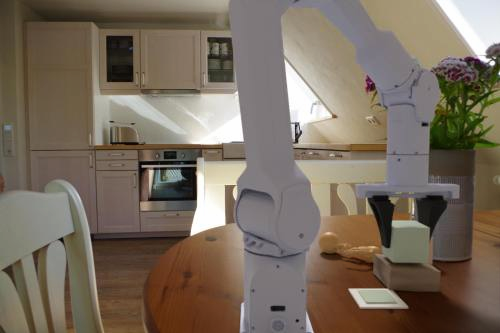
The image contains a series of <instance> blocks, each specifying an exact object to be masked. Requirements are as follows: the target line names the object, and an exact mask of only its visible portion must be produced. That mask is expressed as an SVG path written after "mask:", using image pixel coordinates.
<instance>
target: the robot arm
mask: <svg viewBox="0 0 500 333" xmlns="http://www.w3.org/2000/svg"><path fill="white" fill-rule="evenodd" d="M227 8H228V18H229V26H230V35H231V36H230V37H231V43H232V44H231V45H232V52H233V53H232V54H233V61H234V62H233V63H234V69H235V76H236V77H235V78H236V79H235V80H236V86H237V87H236V89H237V96H238V104H239V113H240V120H241V130H242V139H243V146H244V155H245V163H246V166H245V169H243V171H242V173H241V174H240V175H239V177H238V178H237V180H236V189H237V190H236V193H237V194H236V199H235V202H234V205H233V213H232V214H233V221H234V223H235V226H236V227H237V228H238V231H240V232H241V233H242V242H243V302H242V303H240V323H239V333H315V332H314V330H313V327H312V323H311V321H310V317H309V313H308V312H307V296H308V295H307V292H308V290H307V282H306V280H307V278H306V277H307V275H306V274H307V252H309V251H310V246H312V244H313V243H314V242H315V240H316V239H317V237H318V235H319V232H320V228H321V222H322V221H321V220H322V216H321V211H320V209H319V205H318V204H317V203H316V200H315V198H314V196H313V192H312V185H311V184H312V183H311V181H310V179H309V178H308V176H307V175H306V174H305V173H304V172H303V170H302V169H301V168H300V166H298V165H297V163H296V161H295V150H294V142H293V141H294V140H293V132H292V130H293V129H292V120H291V112H290V110H291V109H290V102H289V100H290V99H289V90H288V82H287V81H288V80H287V69H286V62H285V61H286V60H285V50H284V41H283V32H282V31H283V30H282V23H281V22H282V17H283V15H284V14H285V13H286V12H287V10H289V9H290V8H293V9H294V8H296V9H299V8H300V9H317V11H319V12H320V13H321V14H322V16H324V17H325V18H326V19H327V20H328V21H329V22H330V23H331V24H332V25H333V26H334V27H335V28H336V29H337V30H338V31H339V32H340V33H341V34H342V35H343V37H344V38H346V40H347V41H349V42H350V43H351V44H352V45H353V46H354V47H355V53H354V61H355V62H356V64H357V65H358V66H359V67H360V68H361V70H362V71H363V72H364V73H365V74H366V75H367V77H369V79H370V80H371V81H372V82H373V84H374V87H375V90H376V91H377V95H378V101H379V103H380V106H381V107H382V108H383V109H384V110H386V111H387V119H386V120H387V124H386V125H387V126H386V127H387V129H386V130H387V132H386V136H387V137H386V162H385V163H386V166H385V168H386V170H385V171H386V172H385V175H386V176H385V182H374V183H373V182H372V183H355V184H354V187H355V188H354V196H355V197H356V198H358V199H366V198H367V202H368V203H367V204H368V205H369V207H370V209H371V212H372V213H373V216H374V218H375V221H376V225H377V228H378V231H379V236H380V244H381V246H382V245H383V246H384V247H385V248H390V245H391V235H392V220H393V217H394V212H395V206H396V204H395V203H393V202H392V200H391V199H392V198H393V199H394V198H395V199H396V198H397V199H398V198H399V199H401V198H402V199H403V198H405V199H406V198H409V199H411V198H412V199H414V198H415V204H416V211H417V212H416V213H417V222H419V223H421V224H423V225H425V226H427V227H429V228H430V239H429V243H430V240H431V237H433V232H434V231H435V228H436V226H437V223H438V222H439V220H440V219H441V217H442V215H443V214H444V212H445V211H446V209H447V208H448V200H445V199H447V198H449V199H460V186H461V185H459V184H454V183H437V182H436V183H431V182H430V183H429V163H430V135H431V134H430V131H431V130H430V129H431V123H433V121H434V119H435V114H436V113H435V111H436V107H437V104H438V103H439V101H440V99H441V94H442V93H441V90H442V89H441V88H440V83H439V79H438V77H437V76H436V74H434V72H432V71H430V70H429V69H426V68H424V67H423V68H420V67H419V65H418V64H417V63H416V62H415V60H414V59H413V57H412V56H411V55H410V54H409V52H408V51H407V50H406V48H405V47H404V46H403V44H402V43H401V41H400V40H399V39H398V37H397V36H396V35H395V33H394V32H393V31H391V30H390V29H378V27H377V26H376V24H375V23H374V20H372V18H371V16H370V15H369V13H368V12H367V10H366V9H365V7H364V5H363V4H362V2H361V1H360V0H228V7H227ZM390 198H391V199H390ZM444 198H445V199H444Z"/></svg>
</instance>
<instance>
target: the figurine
mask: <svg viewBox="0 0 500 333" xmlns="http://www.w3.org/2000/svg"><path fill="white" fill-rule="evenodd" d="M318 247H319V248H320V250H321V251H322V252H323V253H326V254H328V255H329V254H330V255H332V254H334V253H335V254H336V252H338V251H339V250H341V249H342V248H343V250H342V252H343V253H344V254H346V255H347V256H355V255H359V254H361V255H362V256H364V257H365V259H368V260H371V261H372V263H373V264H374V256H375V254H381V253H382V249H380V247H378V246H375V245H373V246H372V245H369V246H365V245H364V246H358V247H353V246H352V245H351V244H349V243H341V239H340V237H339V235H338V234H336V233H334V232H332V231H327V232H324V233H323V234H321V235H320V237H319V239H318Z"/></svg>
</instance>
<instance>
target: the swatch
mask: <svg viewBox="0 0 500 333" xmlns="http://www.w3.org/2000/svg"><path fill="white" fill-rule="evenodd" d="M348 292H349V293H350V295H351V297H352V298H353V300H354V301H355V302H356V305H358V307H359V309H361V310H363V309H364V310H365V309H366V310H367V309H368V310H373V309H374V310H376V309H377V310H378V309H386V310H391V309H392V310H394V309H397V310H398V309H399V310H400V309H401V310H402V309H404V310H405V309H407V310H408V309H409V306H408V305H407V304H406V303H405V301H403V300H402V299H401V298H400V296H399V295H398V294H397V293H396V292H395V290H389V289H388V288H348Z"/></svg>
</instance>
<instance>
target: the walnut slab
mask: <svg viewBox="0 0 500 333" xmlns="http://www.w3.org/2000/svg"><path fill="white" fill-rule="evenodd" d="M372 272H373V275H375V276H376V278H377V279H378V280H379V281H380V282H382V284H383V285H384V286H385V287H386V289H389V290H393V291H404V292H424V293H425V292H435V293H436V292H439V291H440V283H441V274H442V272H441V270H439V269H437V268H436V267H435V266H434V265H433V264H432V265H430V264H429V263H395V262H392V261H391V260H390V259H389V258H388V257H386V256H385V255H384V254H383V253H382V254H375V256H374V263H373V269H372Z"/></svg>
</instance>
